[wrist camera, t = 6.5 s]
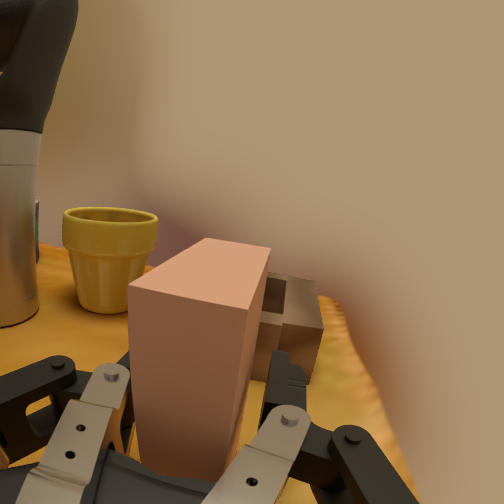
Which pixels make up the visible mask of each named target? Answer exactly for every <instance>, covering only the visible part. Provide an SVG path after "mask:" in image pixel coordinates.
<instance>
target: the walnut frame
mask: <svg viewBox="0 0 504 504" xmlns="http://www.w3.org/2000/svg"><path fill="white" fill-rule="evenodd" d="M323 330H324V328H323V323H322V317H321V312H320V307H319V302H318V297H317V292H316V287H315V282H314V281H312V280H306V279H300V278H294V277H288V276H287V275H283V274H277V273H271V272H268V273H267V279H266V286H265V292H264V298H263V304H262V310H261V316H260V322H259V328H258V334H257V340H256V346H255V352H254V358H253V364H252V369H251V375H250V379H254V380H259V381H265V382H266V381H267V376H268V371H269V366H270V361H271V356H272V351H273V350H278V351H284V352H290V364H293V365H300V366H301V367H302V369H303V370H304V372H305V373H306V384H309V382H310V378H311V375H312V371H313V368H314V364H315V360H316V357H317V353H318V349H319V345H320V342H321V338H322V334H323Z"/></svg>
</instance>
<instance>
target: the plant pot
mask: <svg viewBox="0 0 504 504" xmlns="http://www.w3.org/2000/svg"><path fill="white" fill-rule="evenodd" d="M157 229H158V217H156V216H155V215H153V214H150V213H147V212H142V211H137V210H130V209H120V208H108V207H82V208H74V209H69V210H67V211H65V212H64V214H63V224H62V242H63V245H64V247H65V248H66V249H68V252H69V257H70V262H71V267H72V272H73V277H74V281H75V286H76V290H77V295H78V299H79V302H80V304H81V305H82V306H83V307H84V308H85V309H87V310H89V311H92V312H96V313H102V314H116V313H121V312H125V311H128V284H130V283H131V282H133V281H135V280H136V279H138V278H139V277H141V276H143V273H144V269H145V265H146V262H147V258H148V254H149V253H150V252H152V251H153V250H154V248H155V245H156V238H157Z"/></svg>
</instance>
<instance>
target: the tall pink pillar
mask: <svg viewBox="0 0 504 504" xmlns="http://www.w3.org/2000/svg"><path fill="white" fill-rule="evenodd" d="M270 254H271V248H266V247H260V246H254V245H248V244H242V243H236V242H229V241H223V240H217V239H211V238H205V239H203V240H202V241H200V242H198V243H196V244H195V245H193V246H191V247H190V248H188V249H186V250H184V251H183V252H181V253H180V254H178V255H176V256H174V257H173V258H171V259H169V260H168V261H166V262H164V263H163V264H161V265H160V266H158V267H156V268H154V269H153V270H151V271H149V272H148V273H146V274H144V275H143V276H141V277H139V278H138V279H136V280H135V281H133V282H131V283H130V284H128V333H129V356H130V372H131V386H132V397H133V407H134V416H135V424H136V432H137V439H138V446H139V453H140V459H141V464H143V465H144V466H146V467H148V468H149V469H151V470H153V471H154V472H156V473H158V474H160V475H164V476H172V477H183V478H196V479H201V480H205V481H209V482H213V483H217V482H218V481H219V479H220V478H221V476H222V475H223V474H224V472H225V471H226V470H227V468H228V467H229V465H230V464H231V463H232V461H233V460H234V458H235V457H236V452H237V447H238V442H239V436H240V431H241V425H242V420H243V414H244V409H245V403H246V398H247V392H248V386H249V381H250V375H251V369H252V364H253V358H254V352H255V346H256V340H257V334H258V328H259V322H260V316H261V310H262V304H263V298H264V292H265V286H266V279H267V273H268V267H269V260H270Z"/></svg>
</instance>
